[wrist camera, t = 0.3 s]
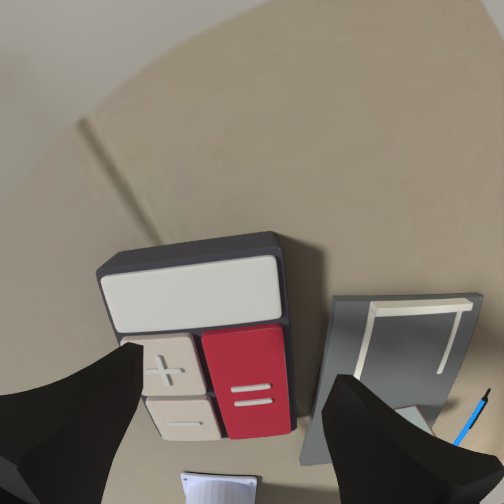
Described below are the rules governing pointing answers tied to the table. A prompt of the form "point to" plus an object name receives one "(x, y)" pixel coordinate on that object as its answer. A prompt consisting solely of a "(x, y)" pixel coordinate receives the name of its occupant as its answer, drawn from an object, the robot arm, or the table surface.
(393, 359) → the mat
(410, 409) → the tile
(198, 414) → the calculator
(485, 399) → the pen
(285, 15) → the table surface
